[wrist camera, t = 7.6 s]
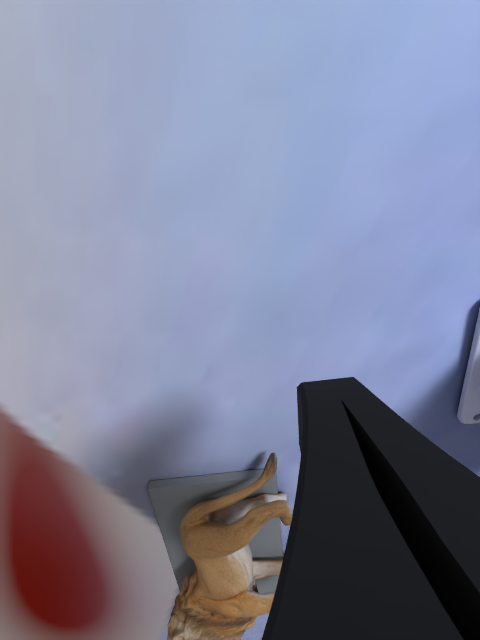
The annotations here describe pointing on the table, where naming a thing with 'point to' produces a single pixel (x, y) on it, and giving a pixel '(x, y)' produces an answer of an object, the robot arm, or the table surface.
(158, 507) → the rubber mat
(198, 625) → the lion figurine
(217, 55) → the table surface
